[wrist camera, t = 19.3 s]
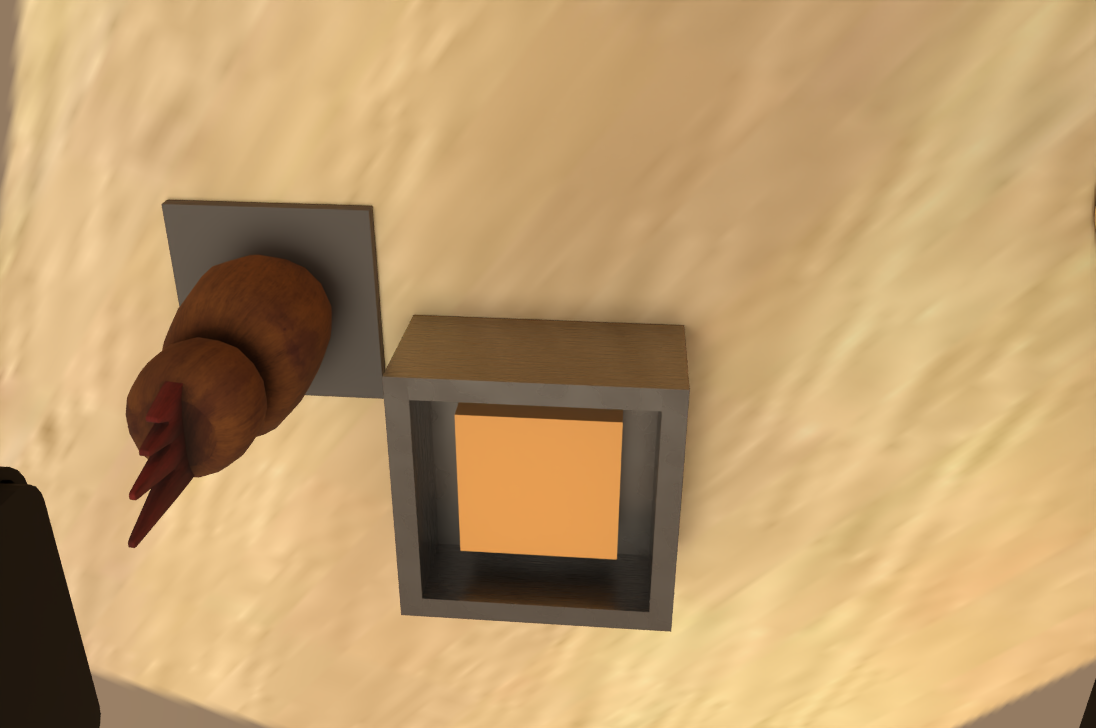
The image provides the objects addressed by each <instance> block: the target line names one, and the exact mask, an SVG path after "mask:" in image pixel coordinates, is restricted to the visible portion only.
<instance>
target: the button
mask: <svg viewBox="0 0 1096 728" xmlns="http://www.w3.org/2000/svg"><path fill="white" fill-rule="evenodd" d="M622 429H623V410H618V409H595V408H573V407H551V406H529V405H507V404H485V403H463V402H459V403H458V406H457V409H456V412H455V437H456V460H457V483H458V505H459V528H460V551H474V552H492V553H510V554H528V555H545V556H563V557H581V558H599V559H616V560H617V544H618V521H619V498H620V475H621V452H622Z"/></svg>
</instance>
